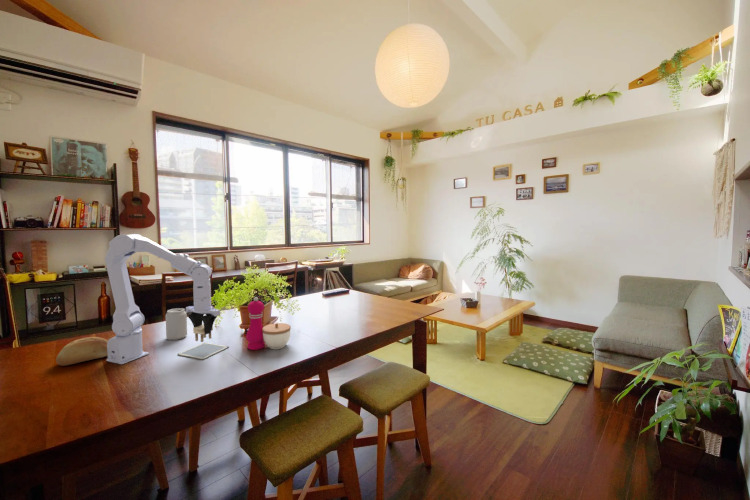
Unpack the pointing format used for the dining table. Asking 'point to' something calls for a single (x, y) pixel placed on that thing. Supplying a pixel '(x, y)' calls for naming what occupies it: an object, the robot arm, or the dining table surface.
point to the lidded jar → (276, 335)
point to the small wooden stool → (200, 332)
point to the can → (176, 324)
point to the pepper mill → (255, 325)
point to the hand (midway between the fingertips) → (203, 332)
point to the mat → (203, 351)
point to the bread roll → (82, 351)
